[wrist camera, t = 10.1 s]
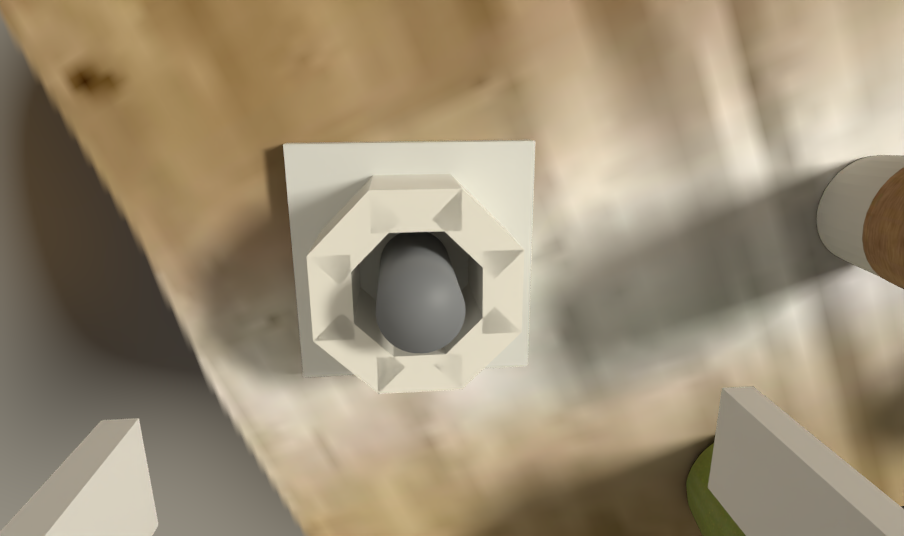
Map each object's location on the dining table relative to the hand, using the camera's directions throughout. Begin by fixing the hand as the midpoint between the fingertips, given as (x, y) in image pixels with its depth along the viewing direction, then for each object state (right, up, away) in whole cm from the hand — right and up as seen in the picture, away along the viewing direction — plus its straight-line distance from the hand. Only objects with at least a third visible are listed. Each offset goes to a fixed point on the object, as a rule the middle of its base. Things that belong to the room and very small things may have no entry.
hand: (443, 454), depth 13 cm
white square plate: (-2, +5, +17) cm, 18 cm away
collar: (-2, +4, +16) cm, 17 cm away
